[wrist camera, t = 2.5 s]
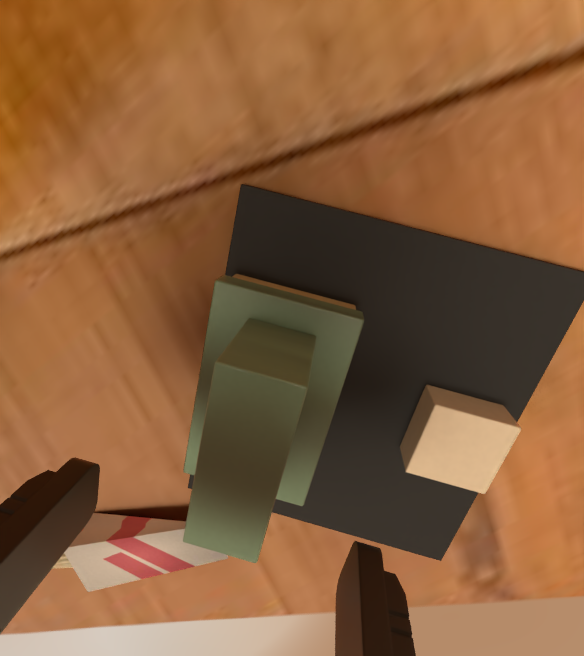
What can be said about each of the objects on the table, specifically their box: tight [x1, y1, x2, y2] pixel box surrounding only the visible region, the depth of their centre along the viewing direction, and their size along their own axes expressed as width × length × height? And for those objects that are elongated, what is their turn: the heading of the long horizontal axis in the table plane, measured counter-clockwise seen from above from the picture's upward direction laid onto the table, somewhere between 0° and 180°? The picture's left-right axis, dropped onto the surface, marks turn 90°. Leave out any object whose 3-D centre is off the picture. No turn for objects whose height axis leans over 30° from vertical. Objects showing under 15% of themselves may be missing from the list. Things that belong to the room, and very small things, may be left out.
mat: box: [188, 184, 584, 561], centre depth 20 cm, size 18×16×1 cm
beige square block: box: [400, 385, 521, 494], centre depth 18 cm, size 4×4×2 cm
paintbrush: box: [52, 513, 228, 592], centre depth 25 cm, size 4×3×20 cm
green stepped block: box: [183, 274, 364, 563], centre depth 16 cm, size 10×6×7 cm, turn 167°
